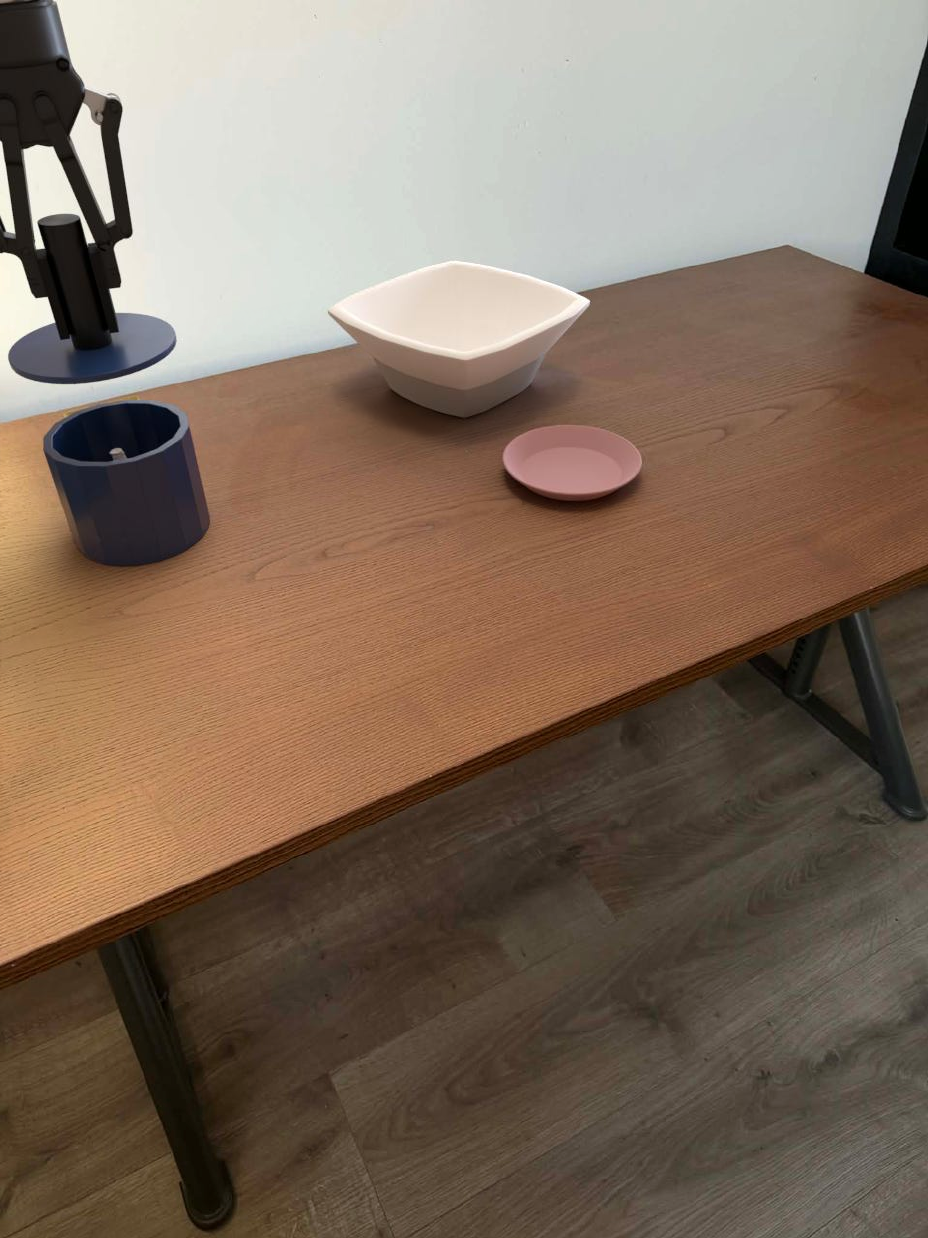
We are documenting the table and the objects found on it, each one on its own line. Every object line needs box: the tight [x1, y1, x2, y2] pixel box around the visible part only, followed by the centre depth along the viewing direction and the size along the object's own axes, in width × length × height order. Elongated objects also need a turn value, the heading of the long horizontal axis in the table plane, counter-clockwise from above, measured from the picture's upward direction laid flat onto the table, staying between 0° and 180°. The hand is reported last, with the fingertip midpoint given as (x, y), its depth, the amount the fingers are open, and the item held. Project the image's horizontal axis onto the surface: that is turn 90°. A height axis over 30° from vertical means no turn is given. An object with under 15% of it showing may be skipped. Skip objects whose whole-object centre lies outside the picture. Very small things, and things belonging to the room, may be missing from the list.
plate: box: [501, 424, 643, 502], centre depth 97 cm, size 14×14×2 cm
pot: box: [42, 399, 211, 567], centre depth 87 cm, size 13×13×10 cm
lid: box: [7, 213, 178, 385], centre depth 76 cm, size 14×14×11 cm
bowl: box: [327, 260, 591, 419], centre depth 111 cm, size 24×25×10 cm
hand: (89, 329), depth 78 cm, fingers closed on lid, 3 cm apart
